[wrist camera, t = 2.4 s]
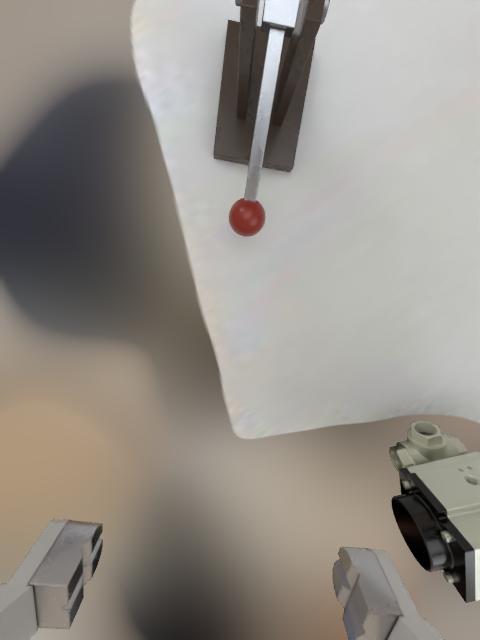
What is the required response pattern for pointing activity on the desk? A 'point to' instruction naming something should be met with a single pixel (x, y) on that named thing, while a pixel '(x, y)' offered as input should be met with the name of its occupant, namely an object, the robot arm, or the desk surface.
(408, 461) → the ball valve
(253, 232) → the tap lever
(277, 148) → the block
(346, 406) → the desk surface
